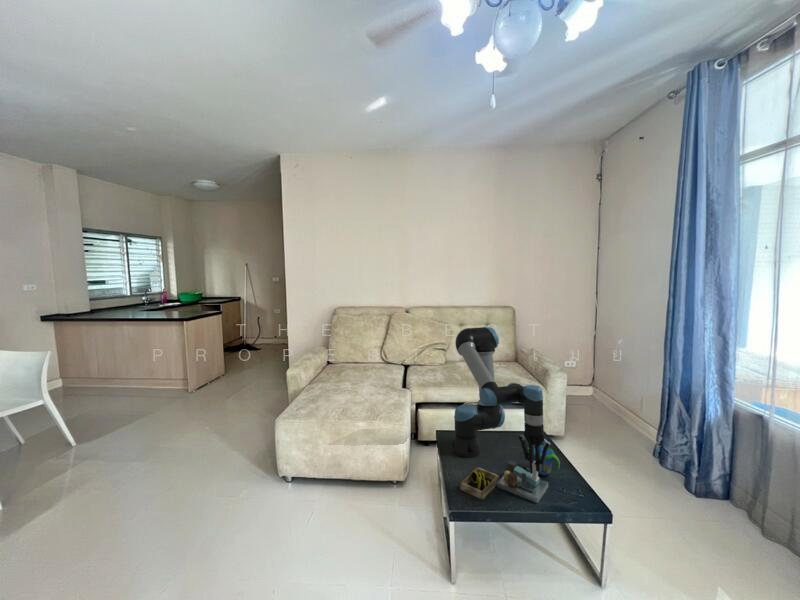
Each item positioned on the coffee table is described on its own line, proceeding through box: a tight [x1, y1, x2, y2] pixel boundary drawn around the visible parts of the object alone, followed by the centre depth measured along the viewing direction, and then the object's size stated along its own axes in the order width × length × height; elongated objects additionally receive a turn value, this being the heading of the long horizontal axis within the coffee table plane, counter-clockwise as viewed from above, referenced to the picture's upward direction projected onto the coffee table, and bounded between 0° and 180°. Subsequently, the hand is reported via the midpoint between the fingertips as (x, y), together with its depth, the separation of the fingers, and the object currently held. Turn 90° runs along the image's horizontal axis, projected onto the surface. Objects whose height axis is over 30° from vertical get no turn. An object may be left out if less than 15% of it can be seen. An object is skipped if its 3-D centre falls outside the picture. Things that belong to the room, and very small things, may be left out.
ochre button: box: [503, 470, 510, 480], centre depth 144 cm, size 3×3×2 cm
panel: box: [496, 467, 549, 504], centre depth 141 cm, size 17×14×7 cm
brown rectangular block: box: [508, 472, 517, 487], centre depth 139 cm, size 3×3×4 cm
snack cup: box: [523, 444, 561, 476], centre depth 152 cm, size 16×10×10 cm
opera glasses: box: [470, 470, 490, 491], centre depth 142 cm, size 10×5×5 cm, turn 9°
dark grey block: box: [507, 460, 518, 473], centre depth 148 cm, size 3×3×4 cm
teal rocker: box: [513, 465, 541, 486], centre depth 141 cm, size 10×4×2 cm, turn 49°
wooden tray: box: [459, 467, 500, 501], centre depth 142 cm, size 11×16×3 cm
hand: (535, 477), depth 139 cm, fingers closed
